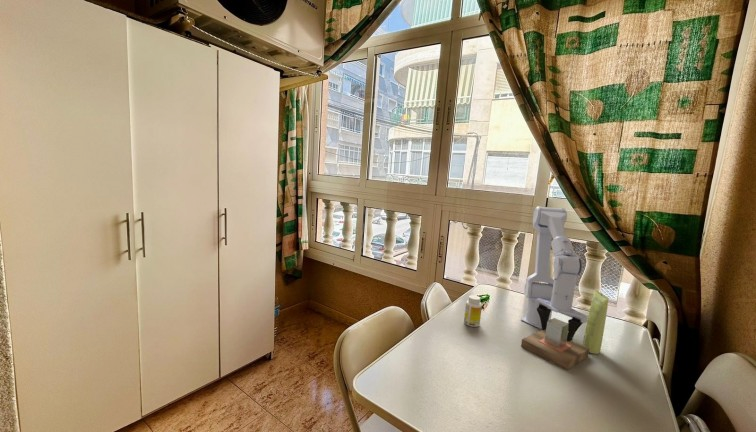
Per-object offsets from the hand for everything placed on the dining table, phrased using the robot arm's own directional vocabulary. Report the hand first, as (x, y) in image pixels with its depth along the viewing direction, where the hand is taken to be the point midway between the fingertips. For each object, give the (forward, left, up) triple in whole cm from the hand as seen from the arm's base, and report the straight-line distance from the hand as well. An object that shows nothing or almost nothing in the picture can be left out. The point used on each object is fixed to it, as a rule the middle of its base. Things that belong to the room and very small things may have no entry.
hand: (556, 334), depth 98 cm
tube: (-12, +6, -6) cm, 15 cm away
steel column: (0, 0, -3) cm, 3 cm away
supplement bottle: (+9, -25, -6) cm, 27 cm away
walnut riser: (0, 0, -6) cm, 6 cm away
